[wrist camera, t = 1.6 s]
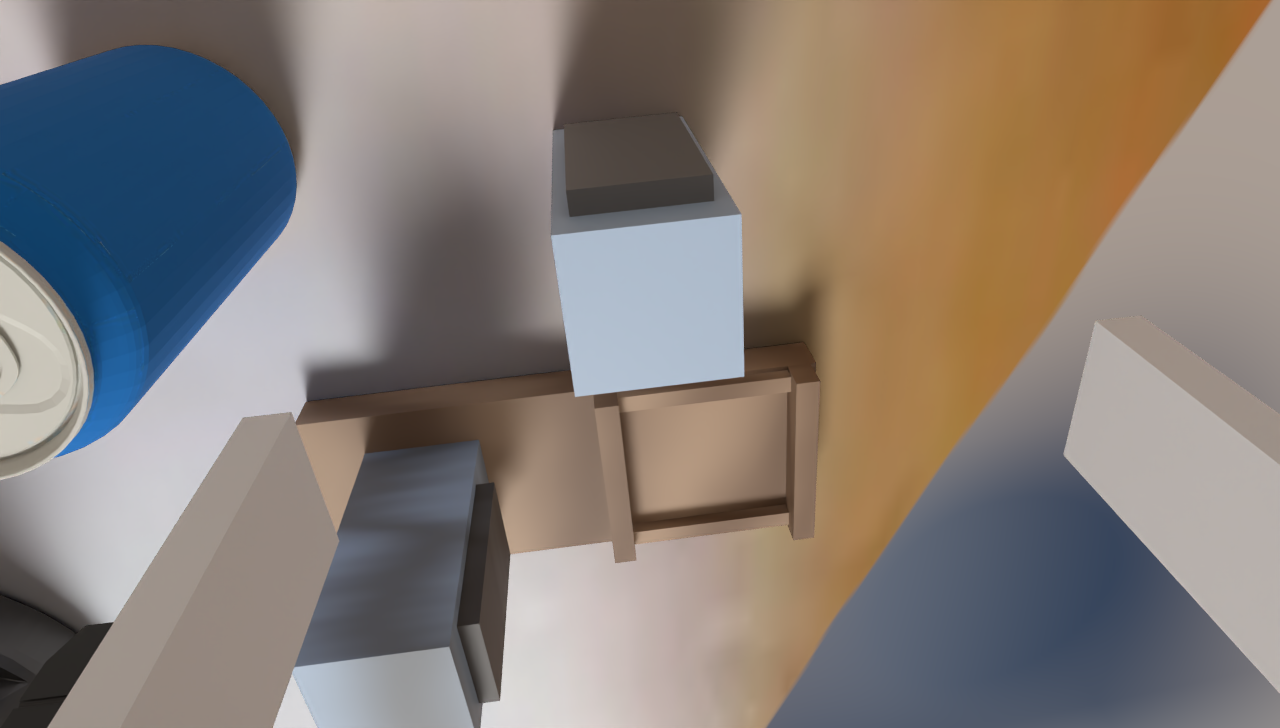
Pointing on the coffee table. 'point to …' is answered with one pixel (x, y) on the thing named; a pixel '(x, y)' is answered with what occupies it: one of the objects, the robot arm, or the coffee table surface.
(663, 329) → the block
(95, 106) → the beverage can
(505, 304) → the coffee table surface
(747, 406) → the brown boxy frame piece
